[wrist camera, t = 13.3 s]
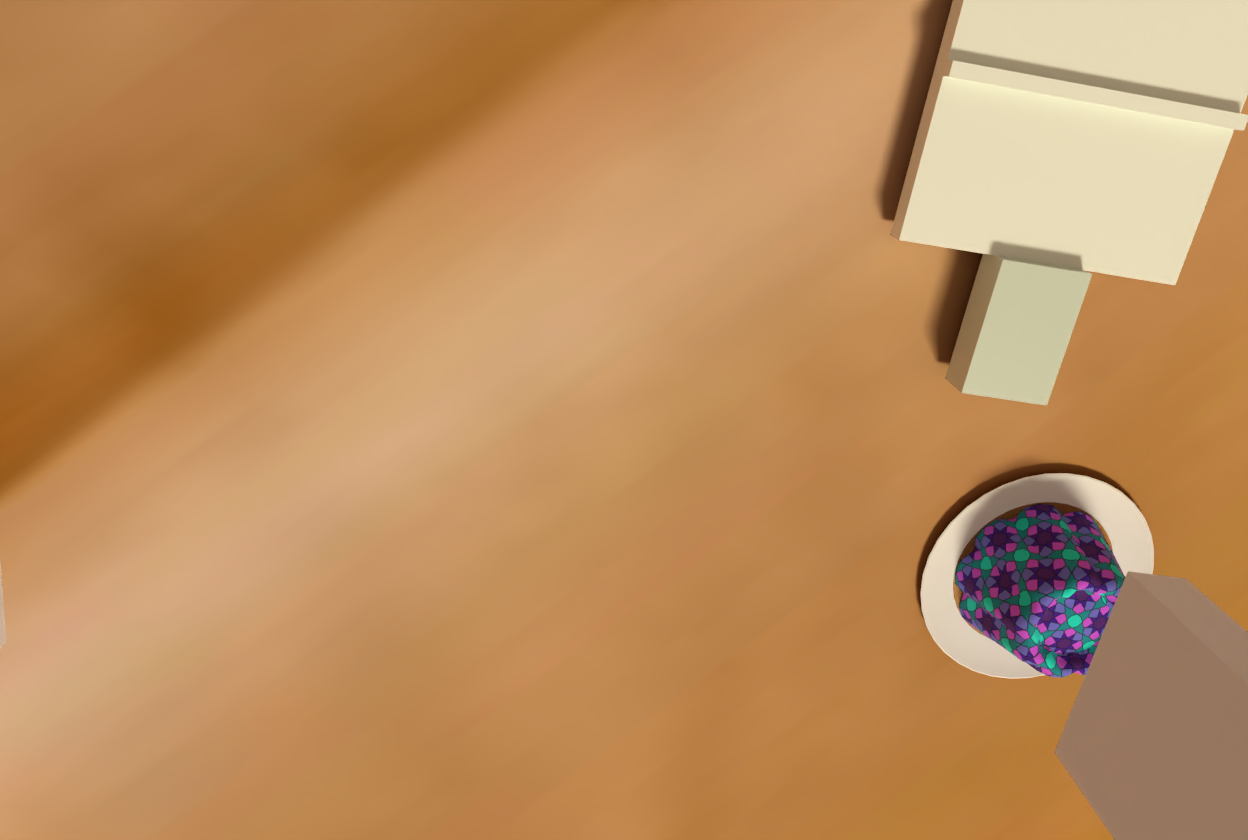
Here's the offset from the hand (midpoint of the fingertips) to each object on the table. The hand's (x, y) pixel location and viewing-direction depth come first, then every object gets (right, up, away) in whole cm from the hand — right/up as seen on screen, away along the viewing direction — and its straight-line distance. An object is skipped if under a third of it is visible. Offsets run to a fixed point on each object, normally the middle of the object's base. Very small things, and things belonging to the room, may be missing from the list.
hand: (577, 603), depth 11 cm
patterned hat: (+22, -6, +38) cm, 44 cm away
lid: (+20, +16, +29) cm, 39 cm away
